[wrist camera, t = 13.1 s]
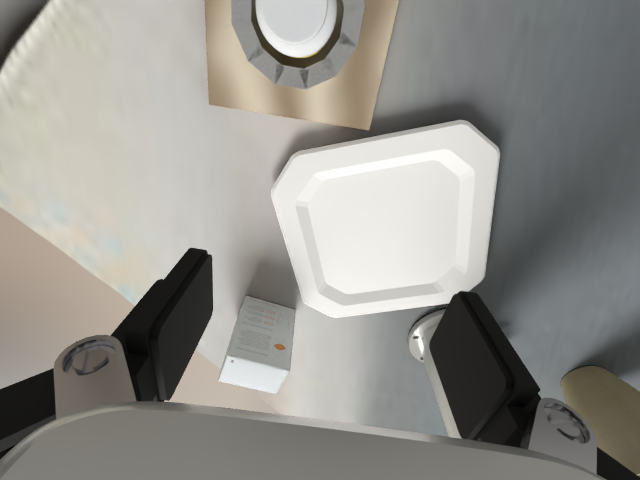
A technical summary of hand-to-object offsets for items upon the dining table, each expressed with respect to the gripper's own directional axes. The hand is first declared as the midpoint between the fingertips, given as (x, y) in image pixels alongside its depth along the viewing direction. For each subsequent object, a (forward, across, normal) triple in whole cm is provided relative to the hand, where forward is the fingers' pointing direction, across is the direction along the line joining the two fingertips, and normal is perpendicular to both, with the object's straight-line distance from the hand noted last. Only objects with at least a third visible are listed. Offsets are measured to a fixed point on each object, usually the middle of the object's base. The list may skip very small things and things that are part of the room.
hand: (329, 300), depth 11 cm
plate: (+25, -8, +9) cm, 28 cm away
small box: (+25, +5, +26) cm, 36 cm away
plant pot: (+27, -52, +32) cm, 67 cm away
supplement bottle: (+23, +4, -11) cm, 25 cm away
